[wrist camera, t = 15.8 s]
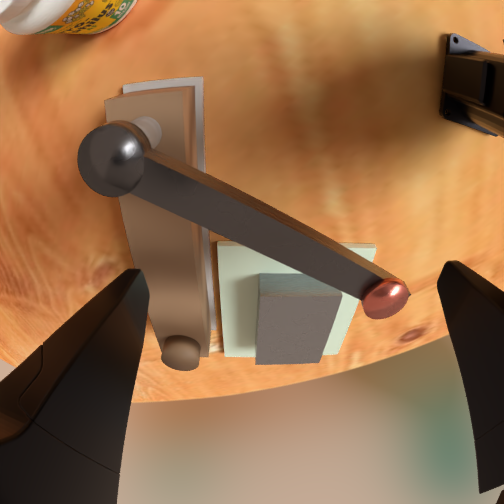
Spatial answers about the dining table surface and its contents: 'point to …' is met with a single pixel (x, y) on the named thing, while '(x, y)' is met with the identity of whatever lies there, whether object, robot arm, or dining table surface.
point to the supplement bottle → (62, 15)
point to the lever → (231, 214)
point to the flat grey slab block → (293, 318)
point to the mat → (246, 296)
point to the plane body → (170, 220)
